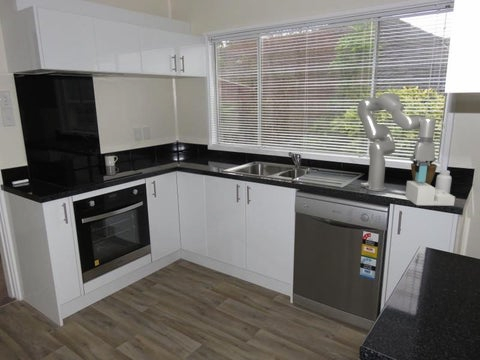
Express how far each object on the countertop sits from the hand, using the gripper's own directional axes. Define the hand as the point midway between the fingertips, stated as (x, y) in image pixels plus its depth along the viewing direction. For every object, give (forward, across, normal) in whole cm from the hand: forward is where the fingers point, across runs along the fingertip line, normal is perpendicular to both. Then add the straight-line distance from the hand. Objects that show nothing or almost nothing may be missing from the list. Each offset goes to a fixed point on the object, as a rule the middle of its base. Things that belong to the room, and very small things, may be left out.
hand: (421, 171), depth 197 cm
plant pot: (+18, +14, +28) cm, 36 cm away
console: (+17, +6, -1) cm, 18 cm away
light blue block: (+5, 0, 0) cm, 5 cm away
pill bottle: (+18, +20, +13) cm, 30 cm away
